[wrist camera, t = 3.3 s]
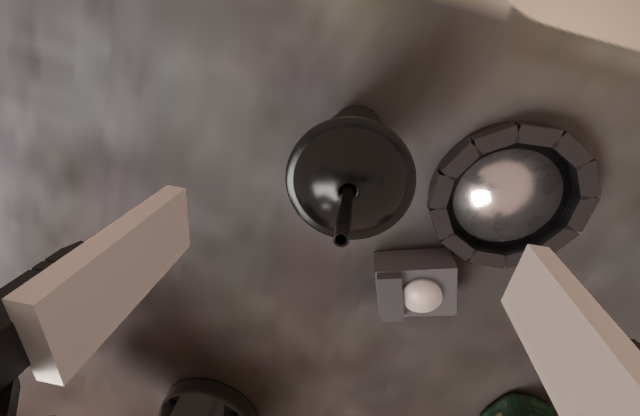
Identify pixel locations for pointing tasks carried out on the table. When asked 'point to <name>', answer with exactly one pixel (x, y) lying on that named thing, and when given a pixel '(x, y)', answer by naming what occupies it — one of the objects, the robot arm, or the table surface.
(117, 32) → the table surface
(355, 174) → the drinking cup
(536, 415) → the coffee jar
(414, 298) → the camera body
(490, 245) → the plate
